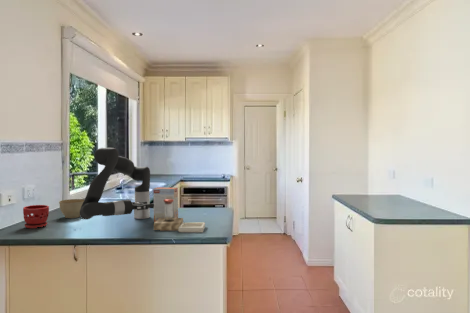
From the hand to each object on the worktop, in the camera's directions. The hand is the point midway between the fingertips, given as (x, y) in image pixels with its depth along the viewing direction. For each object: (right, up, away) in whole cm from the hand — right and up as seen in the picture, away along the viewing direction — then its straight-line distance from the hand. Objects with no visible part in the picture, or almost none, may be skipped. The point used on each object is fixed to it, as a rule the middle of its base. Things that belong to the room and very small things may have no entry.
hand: (150, 204), depth 193 cm
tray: (+23, -14, +3) cm, 27 cm away
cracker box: (+4, -14, +24) cm, 28 cm away
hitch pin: (+9, -14, +8) cm, 18 cm away
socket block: (+9, -14, +8) cm, 18 cm away
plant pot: (-69, -15, +12) cm, 72 cm away
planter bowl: (-61, -14, +40) cm, 74 cm away
